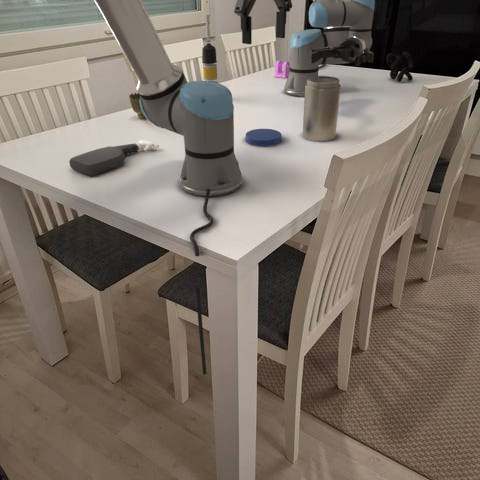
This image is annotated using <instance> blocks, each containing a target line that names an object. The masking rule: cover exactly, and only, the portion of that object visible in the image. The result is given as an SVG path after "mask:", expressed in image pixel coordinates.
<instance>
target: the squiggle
mask: <svg viewBox="0 0 480 480" xmlns="http://www.w3.org/2000/svg"><path fill="white" fill-rule="evenodd" d="M401 57H402V59H401ZM391 59H392V60H391ZM393 60H394V61H393ZM385 61H386V64H387V67H390V68H391V70H390V72H389V78H390V79H391V80H395V79H396V81H397V82H399V83H400V82H402V81H403V79H404V76H406V78H407V80H408V81H412V80H413V79H414V77H413V75H412V74H411V73H410V72H409V71H410V70H412V69H413V68H414V64H413V61H412V57H411V54H410V53H409V52H408V51H403V53H402V54H401V55H396V54H394V53H392V52H390V53H387V55H386V57H385ZM406 62H407V65H408V66H407V67H405V66H404V65H405V64H406ZM400 70H401V71H400Z"/></svg>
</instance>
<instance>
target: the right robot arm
mask: <svg viewBox="0 0 480 480" xmlns="http://www.w3.org/2000/svg"><path fill="white" fill-rule="evenodd" d="M375 4H376V0H312V3H311V4H310V6H309V9H308V22H309V24H310V26H311V27H312V28H313V29H311V28H310V29H303V30H300V31H295V32H294V33H293V34H292V35H291V37H290V44H289V62H290V69H289V75H288V77H287V78H286V81H285V84H284V87H283V88H284V89H283V92H284V94H286V95H288V96H293V97H302V98H303V97H304V98H305V84H306V83H307V80H308V78H310V77H315V76H320V75H319V69H321V68H323V67H325V66H327V65H343V64H350V63H353V62H354V67H358V66H360V65H361V64H362V63H367V62H369V63H373V62H374V56H375V53H374V52H373V51H371V50H370V49H371V48H372V46H373V38H372V27H373V20H374V14H375V7H376V6H375ZM318 28H322V29H323V32H322V30H321V29H318Z"/></svg>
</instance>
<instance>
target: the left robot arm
mask: <svg viewBox="0 0 480 480" xmlns="http://www.w3.org/2000/svg"><path fill="white" fill-rule="evenodd" d="M94 2H95V4H96V6H97V7H98V9H99V11H100V13H101V15H102V17H103V18H104V20H105V21H106V24H107V25H108V27H109V29H110V31H111V32H112V34H113V36H114V37H115V40H116V42H117V43H118V45H119V47H120V49H121V50H122V52H123V54H124V56H125V58H126V60H127V61H128V63H129V65H130V67H131V69H132V71H133V73H134V74H135V76H136V78H137V79H138V83H137V86H136V91H137V93H139V94H140V100H139V103H140V108H141V111H142V113H143V114H144V116H145V117H146V118H145V119H146V120H147V121H149V122H150V123H152V124H153V125H155V126H156V127H158V128H159V129H165V130H167V131H170V132H172V133H175V134H178V135H180V136H183V143H184V154H185V155H184V158H183V164H182V168H181V171H180V177H179V178H180V179H179V183H180V184H179V185H180V188H181V189H182V191H184V192H186V193H187V194H190V195H194V196H199V197H204V202H203V207H202V211H203V214H204V216H205V217H206V218H207V219H208V220H209V222H208V223H206V224H204V225H201V226H199V227H197V228H195V229H194V230H192V231H191V232H190V234H189V240H190V242H191V243H192V245H193V248H194V256H195V257H199V256H200V249H199V248H200V247H199V244H198V242H197V240H196V239H195V235H197V233H199V232H202V231H204V230H206V229H208V228H210V227H211V226H212V225H213V224H214V221H215V220H214V217H213V216H212V215H210V213H208V203H209V198H210V197H221V196H224V195H229V194H232V193H234V192H235V191H237V190H239V189H240V188H241V187H242V185H243V174H242V171H241V168H240V163H239V160H238V158H237V157H236V154H235V125H234V124H235V121H234V119H235V116H234V114H235V113H234V112H235V110H234V109H235V106H234V102H233V94H232V91H231V90H230V89H229V87H227V86H226V85H224V84H222V83H220V82H218V83H216V82H217V81H215V82H207V81H208V80H193V81H192V80H191V81H188V80H187V78H186V76H185V73H184V71H183V70H182V68H181V66H179V65H177V64H174V63H172V62H171V59H170V57H169V55H168V53H167V51H166V49H165V47H164V44H163V42H162V40H161V38H160V37H159V34H158V32H157V30H156V28H155V26H154V24H153V22H152V19H151V18H150V16H149V13H148V11H147V9H146V7H145V5H144V3H143V0H94ZM256 2H257V0H236V3H235V6H234V10H233V12H234V14H235V15H237V16H238V17H239V18H240V30H241V36H242V37H241V44H243V45H244V44H245V45H252V44H253V41H252V20H253V19H252V16H250V15H251V12H252V10H253V8H254V6H255V3H256ZM273 2H274V3H275V5H276V8H277V9H278V11H276V13H275V15H276V16H275V38H277V39H285V38H286V24H287V13H290V12H291V9H292V8H293V3H292V0H273ZM195 293H196V296H195V297H196V311H197V322H198V334H199V344H200V345H199V346H200V355H201V366H202V375H204V376H205V375H207V363H206V352H205V351H206V350H205V339H204V330H203V329H204V328H203V327H204V326H203V315H202V302H201V301H202V300H201V299H202V298H201V288H200V287H198V286H195Z"/></svg>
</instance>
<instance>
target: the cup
mask: <svg viewBox="0 0 480 480" xmlns="http://www.w3.org/2000/svg"><path fill="white" fill-rule="evenodd" d="M128 98H129V101H130V105H131V108H132V110H133V112H134V113H136V115H137V117H138V118H139V119H147V118H146V117H145V116H144V114H143V113H142V111H141V108H140V103H139V100H140V94H139V93H138V92H137V93H136V92H134V93H129V95H128Z"/></svg>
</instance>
